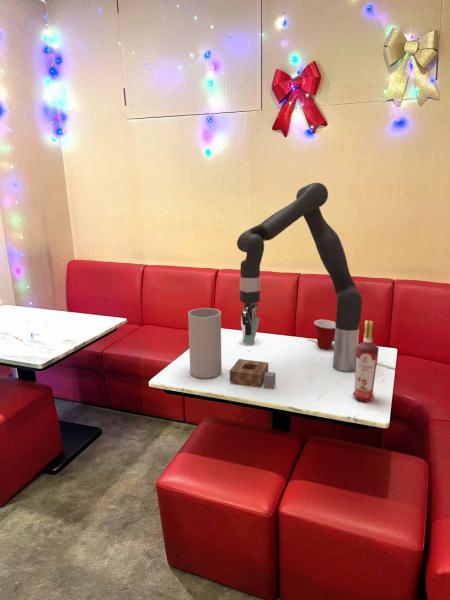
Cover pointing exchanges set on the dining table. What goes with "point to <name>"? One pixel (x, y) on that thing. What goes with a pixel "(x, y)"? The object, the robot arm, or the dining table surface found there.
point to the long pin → (252, 332)
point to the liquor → (365, 365)
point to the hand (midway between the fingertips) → (249, 333)
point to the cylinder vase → (205, 342)
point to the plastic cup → (325, 333)
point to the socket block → (248, 372)
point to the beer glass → (244, 331)
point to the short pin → (269, 380)
